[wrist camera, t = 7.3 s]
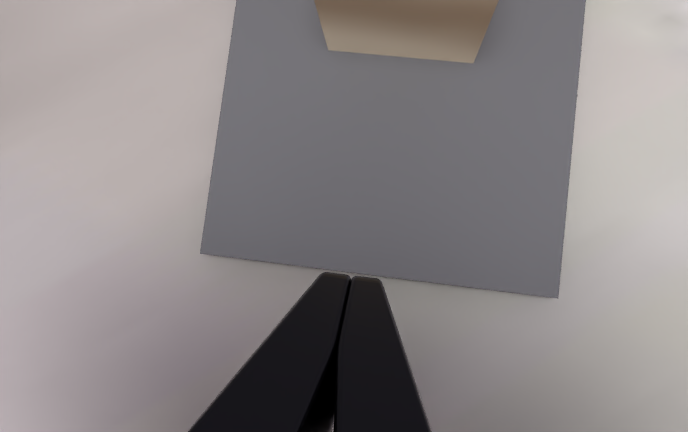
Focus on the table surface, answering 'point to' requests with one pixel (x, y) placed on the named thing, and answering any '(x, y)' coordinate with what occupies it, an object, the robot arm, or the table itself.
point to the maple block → (407, 27)
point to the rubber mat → (398, 151)
